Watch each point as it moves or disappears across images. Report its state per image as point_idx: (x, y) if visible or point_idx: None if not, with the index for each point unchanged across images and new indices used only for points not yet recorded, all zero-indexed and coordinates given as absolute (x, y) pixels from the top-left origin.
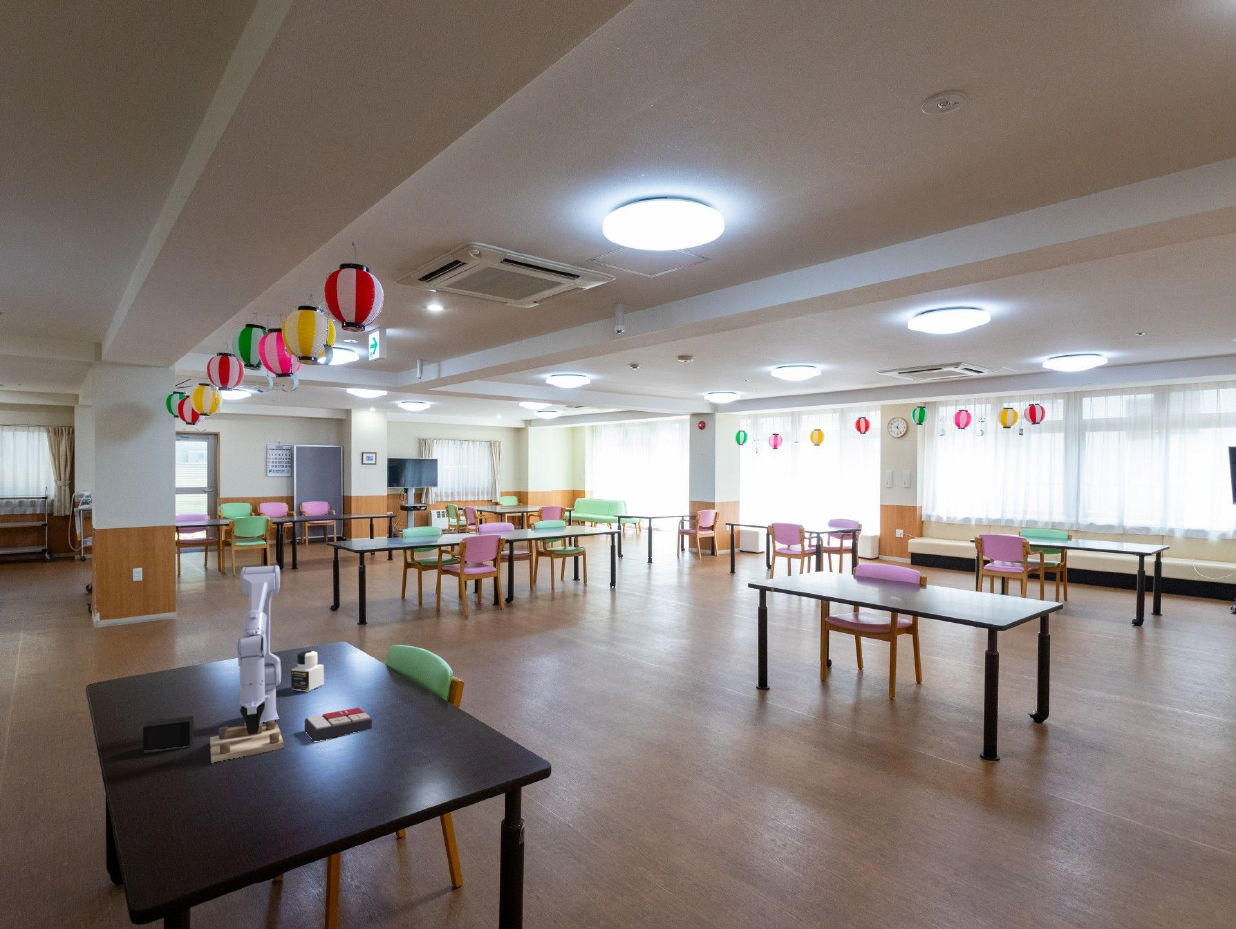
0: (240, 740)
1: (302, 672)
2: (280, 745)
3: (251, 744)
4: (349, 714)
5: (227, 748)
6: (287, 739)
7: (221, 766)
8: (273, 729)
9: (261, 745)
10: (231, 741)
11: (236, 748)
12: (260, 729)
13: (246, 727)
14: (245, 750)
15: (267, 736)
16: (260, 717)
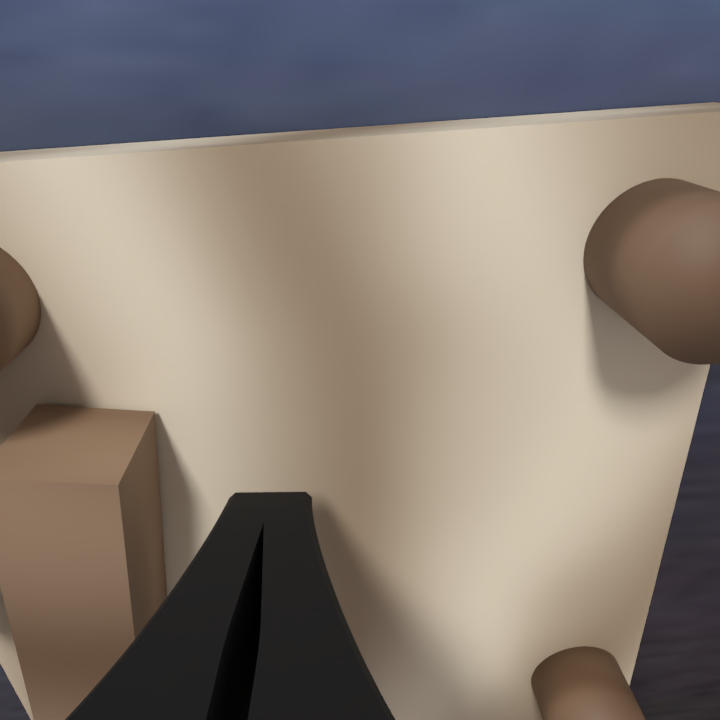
0: None
1: None
2: None
3: (517, 498)
4: None
5: (637, 706)
6: (360, 24)
7: (713, 629)
8: (23, 254)
9: (645, 401)
10: None
11: (538, 610)
12: (136, 459)
13: (116, 647)
14: (662, 539)
15: (326, 337)
16: (388, 717)
